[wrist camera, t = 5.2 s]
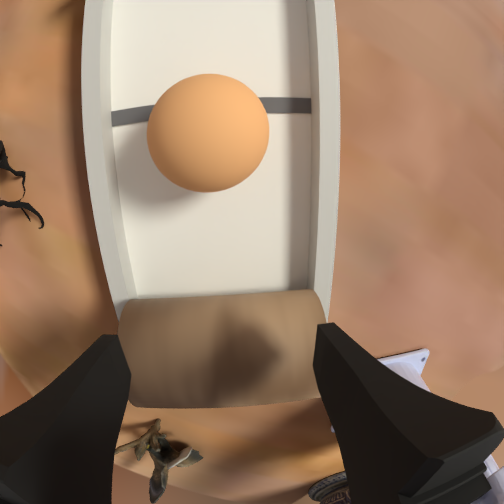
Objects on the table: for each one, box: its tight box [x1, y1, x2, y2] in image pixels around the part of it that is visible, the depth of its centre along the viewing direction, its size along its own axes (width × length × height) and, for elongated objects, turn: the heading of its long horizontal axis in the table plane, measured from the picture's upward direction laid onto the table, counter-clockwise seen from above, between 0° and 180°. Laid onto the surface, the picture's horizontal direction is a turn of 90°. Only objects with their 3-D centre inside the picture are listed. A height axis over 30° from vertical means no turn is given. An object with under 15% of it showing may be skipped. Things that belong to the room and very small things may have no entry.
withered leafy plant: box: [114, 419, 203, 503], centre depth 22 cm, size 8×7×9 cm
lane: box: [81, 0, 340, 322], centre depth 14 cm, size 26×12×4 cm, turn 2°
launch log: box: [117, 289, 327, 408], centre depth 16 cm, size 6×10×6 cm, turn 92°
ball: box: [147, 74, 269, 193], centre depth 12 cm, size 5×5×5 cm
